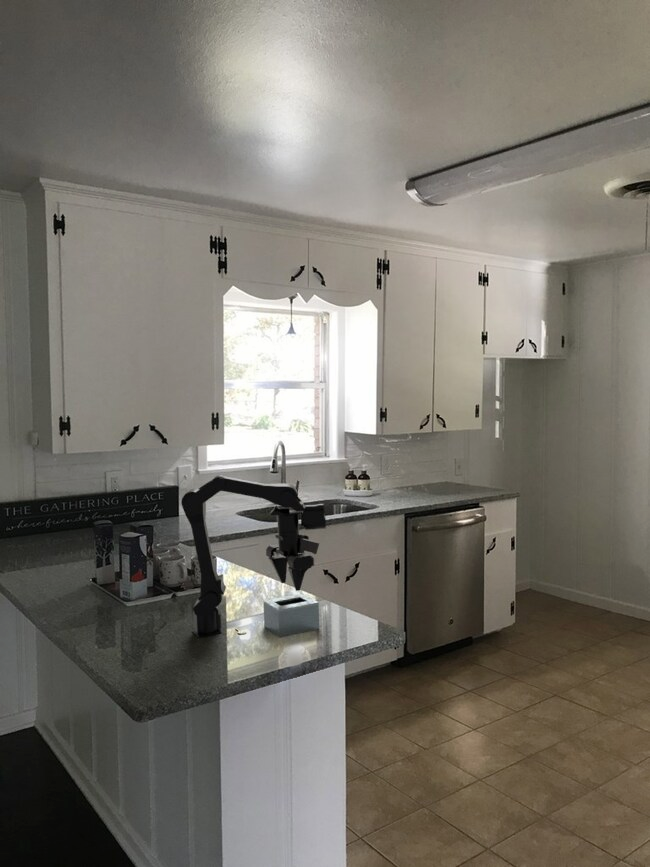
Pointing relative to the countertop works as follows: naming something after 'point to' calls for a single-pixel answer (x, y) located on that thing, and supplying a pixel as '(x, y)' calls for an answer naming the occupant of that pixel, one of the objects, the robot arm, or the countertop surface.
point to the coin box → (291, 615)
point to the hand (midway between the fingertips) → (290, 586)
